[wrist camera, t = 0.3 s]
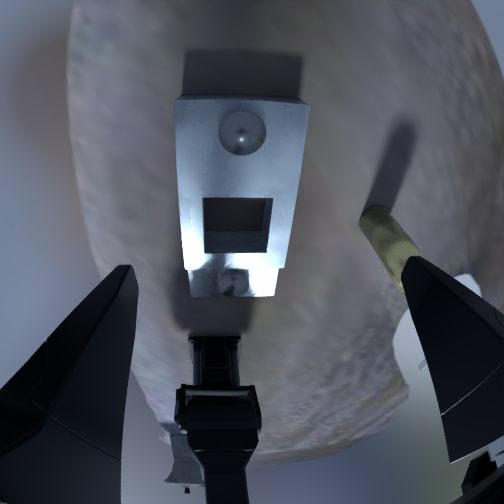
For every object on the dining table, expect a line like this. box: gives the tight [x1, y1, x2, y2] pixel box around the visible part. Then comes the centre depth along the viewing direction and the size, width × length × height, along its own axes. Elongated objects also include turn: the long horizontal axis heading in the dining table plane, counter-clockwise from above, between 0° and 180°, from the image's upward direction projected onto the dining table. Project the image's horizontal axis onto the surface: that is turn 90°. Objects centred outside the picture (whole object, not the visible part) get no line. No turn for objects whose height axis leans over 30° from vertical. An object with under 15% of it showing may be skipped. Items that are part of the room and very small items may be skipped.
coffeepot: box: [164, 434, 205, 494], centre depth 60 cm, size 15×9×18 cm, turn 50°
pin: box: [359, 205, 427, 293], centre depth 22 cm, size 3×3×8 cm
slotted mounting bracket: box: [175, 94, 310, 297], centre depth 21 cm, size 18×8×4 cm, turn 176°
